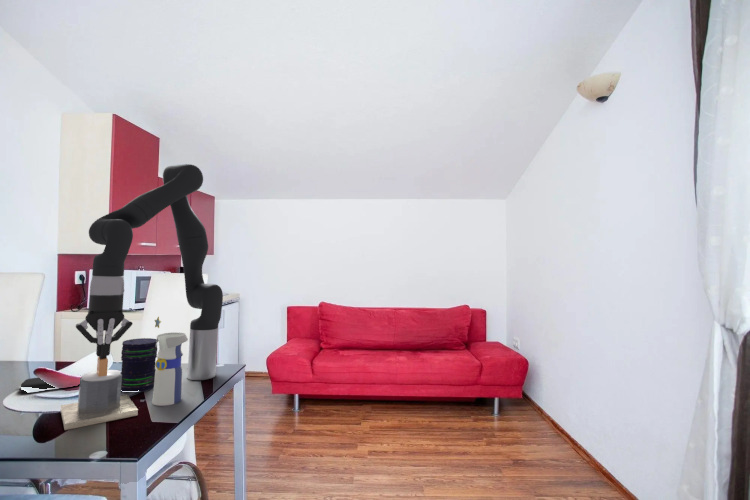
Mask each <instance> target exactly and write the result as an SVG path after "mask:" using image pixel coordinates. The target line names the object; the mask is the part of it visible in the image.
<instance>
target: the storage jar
mask: <svg viewBox="0 0 750 500" xmlns="http://www.w3.org/2000/svg"><path fill="white" fill-rule="evenodd" d="M156 342H157V338H148V337H147V338H145V337H143V338H142V337H141V338H133V339H127V340H123V341H122V344H121V345H122V348H121V357H120V358H121V359H120V360H121V371H120V372H121V375H122V382H121V390H122V391H138V390H139V391H141V392H140V393H144V392H148V391H150V390H154V380H155V371H156V365H155V364H156V361H157V357H156V356H157V354H158V345H157V346H156ZM157 343H158V342H157Z"/></svg>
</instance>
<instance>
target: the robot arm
mask: <svg viewBox="0 0 750 500" xmlns="http://www.w3.org/2000/svg"><path fill="white" fill-rule="evenodd" d="M162 182H163V185H161V186H158V187H157V188H156V187H155V188H153V189H151V190H149V191H147V192H144V193H142V194H140V195H138V196H136V197H135V198H134V199H132V200H131V201H129V202H128V203H127V204H124V206H122V207H121V208H119V209H117V210H114V211H111V212H109V213H107V214H105V215H102V216H101V217H100V218H97V219H95V221H93V222H92V224H91V225H89V228H88V236H89V238H90V239H89V240H91V242H93V243H95V244H98V245H100V246H101V245H102V246H105V247H104V249H103V251H102V253H99V254H97V255H95V256H94V257H93V260H92V275H91V280H90V286H89V298H88V312H87V314H86V315H85V319H84V320H82V321H81V322H79V323H77V324H75V328H76V329H77V331H79V333H80V334H82V336H83V337H84V338H85V339H87V341H88V342H89V343H90V344H96V352H95V355H96V356H97V358H98V357H99V358H100V359H101V358H107V359H108V356H110V354H111V344H112V343H114V342H117V341H119V340H120V339H121V338H122V337H123V335H124V334H125V333H126V332H127V331H128V330H129V329H130V328H131V327H132V325H133V322H132V321H131V320H128V319H126V318H125V314H124V312H123V310H124V309H123V308H124V296H125V295H124V294H125V278H124V277H125V261H126V259H127V257H128V254H129V252H130V248H131V246H132V243H133V239H134V231H133V229H137V228H140V227H142V226H144V225H145V224H146V223H148V222H149V221H150V220H152V218H154V217H156V216H157V215H159V213H161V212H162V211H164V210H165V209H166V208H168V207H169V206H170V209H171V213H172V218H173V222H174V226H175V232H176V238H177V243H178V247H179V251H180V257H181V263H182V268H183V273H184V283H185V284H184V285H185V286H184V287H185V297H186V300H187V303H188V305H189V306H190V307H191V308H193V309H197V310H198V309H199V310H201V312H200V316H198V317H197V318H194V319H192V320H191V321H190V324H189V345H188V360H187V375H186V378H187V379H188V380H190V381H191V380H192V381H205V380H209V379H213V378H215V377H216V374H217V373H216V372H217V371H216V370H217V358H218V357H217V355H218V354H217V353H218V339H219V337H218V334H219V323H220V322H221V318H222V309H223V300H224V298H223V297H224V294H223V290H222V288H221V286H220V285H218V284H215V283H205V281H204V276H203V265H204V262H205V260H206V257H207V255H208V251H209V242H208V237H207V236H208V235H207V231H206V227H205V226H204V224H203V223H202V221H201V220H200V218H199V217H198V215H197V214H196V213H195V212H194V210H193V209H192V207H191V204H190V202H189V199H188V198H189V196H188V195H190V194H192V193H195V192H196V191H198V190H199V189H200V188H201V187H202V186H203V183H204V175H203V172H202V171H201V169H200V168H199V167H198V166H197V165H194V164H190V163H189V164H187V163H185V164H171V165H167V166H166V167H165V168H164V169H163V173H162ZM88 325H89V326H90V327H91V328H92V329H93V330H94V331H95V335H96V336H95V337H94V336H93V335H92V334H91V333H90V332H89V331H88V330H87V329H88V328H89V327H88ZM119 325H120V328H119V329H118V330H117V331H116V332H115V333H114V330H115V329H117V327H118V326H119Z"/></svg>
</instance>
